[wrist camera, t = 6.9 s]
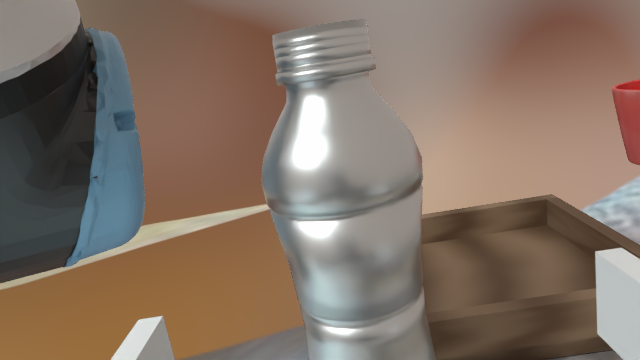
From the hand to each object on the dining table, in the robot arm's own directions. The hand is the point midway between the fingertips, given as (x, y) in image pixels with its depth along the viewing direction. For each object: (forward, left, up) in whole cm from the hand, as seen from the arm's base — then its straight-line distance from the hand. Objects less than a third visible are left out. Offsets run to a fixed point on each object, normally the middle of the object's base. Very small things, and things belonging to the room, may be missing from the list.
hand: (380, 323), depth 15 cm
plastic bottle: (0, +6, -11) cm, 12 cm away
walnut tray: (+10, +21, -11) cm, 25 cm away
